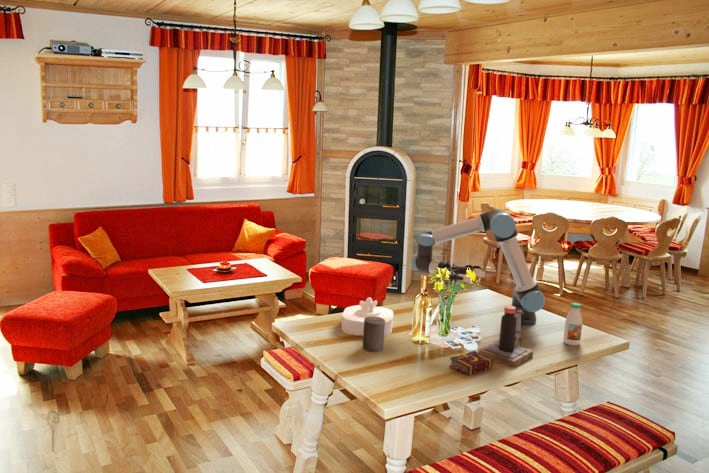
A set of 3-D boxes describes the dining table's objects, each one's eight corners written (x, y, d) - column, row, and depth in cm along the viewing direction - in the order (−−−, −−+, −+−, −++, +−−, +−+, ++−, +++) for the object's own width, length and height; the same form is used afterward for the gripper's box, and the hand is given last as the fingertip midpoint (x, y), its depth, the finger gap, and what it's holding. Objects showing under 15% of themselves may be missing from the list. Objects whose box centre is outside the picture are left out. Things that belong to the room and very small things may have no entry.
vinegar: (513, 352, 279) (518, 310, 275) (498, 350, 281) (502, 308, 277) (513, 347, 286) (518, 306, 282) (498, 345, 287) (502, 304, 283)
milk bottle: (560, 342, 303) (565, 303, 299) (567, 338, 309) (571, 300, 305) (575, 347, 298) (580, 307, 294) (582, 343, 304) (587, 304, 300)
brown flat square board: (497, 345, 296) (498, 339, 295) (532, 356, 284) (533, 350, 284) (477, 355, 283) (478, 348, 282) (513, 367, 271) (514, 360, 271)
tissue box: (346, 317, 327) (347, 288, 324) (394, 321, 324) (395, 292, 321) (338, 334, 303) (340, 302, 300) (390, 338, 300) (391, 306, 296)
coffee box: (520, 346, 296) (524, 314, 293) (507, 344, 298) (510, 312, 294) (519, 339, 305) (523, 308, 302) (506, 338, 306) (509, 306, 303)
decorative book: (492, 369, 269) (493, 358, 268) (466, 377, 260) (467, 366, 259) (473, 360, 278) (474, 349, 277) (447, 367, 269) (448, 357, 268)
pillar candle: (359, 349, 284) (361, 318, 281) (366, 342, 293) (368, 312, 290) (379, 353, 281) (381, 322, 277) (386, 346, 290) (388, 315, 286)
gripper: (453, 271, 319) (489, 280, 305) (425, 280, 301) (462, 289, 287) (454, 257, 318) (491, 265, 304) (426, 265, 299) (463, 274, 285)
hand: (477, 277), depth 295 cm, fingers open, 13 cm apart
